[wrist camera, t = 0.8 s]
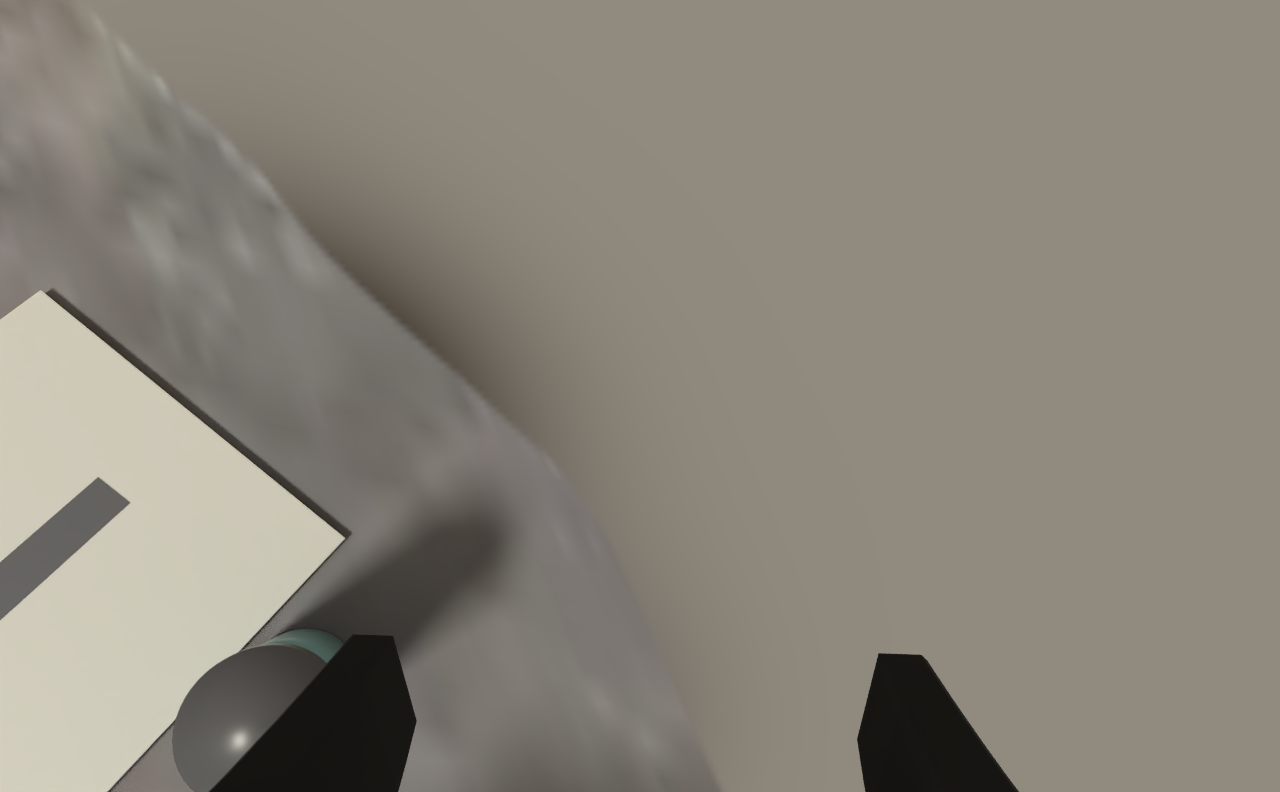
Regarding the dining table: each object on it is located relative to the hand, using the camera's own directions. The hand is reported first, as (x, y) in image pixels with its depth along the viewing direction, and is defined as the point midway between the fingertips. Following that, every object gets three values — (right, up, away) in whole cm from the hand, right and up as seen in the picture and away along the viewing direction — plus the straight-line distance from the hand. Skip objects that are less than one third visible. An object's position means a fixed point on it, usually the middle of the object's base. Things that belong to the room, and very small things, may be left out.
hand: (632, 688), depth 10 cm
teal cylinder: (-10, -4, +11) cm, 16 cm away
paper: (-18, -1, +9) cm, 20 cm away
